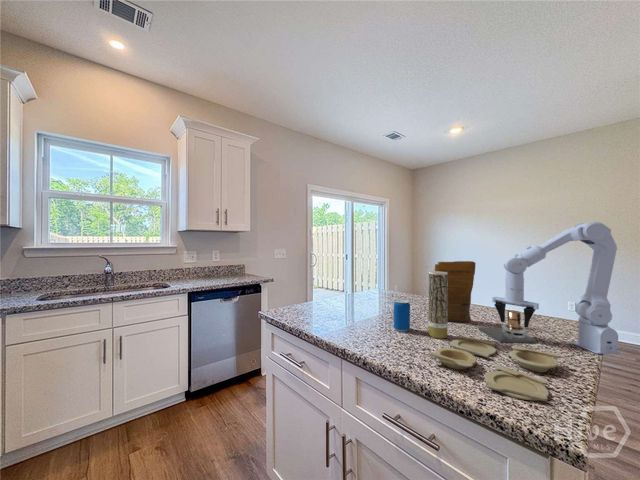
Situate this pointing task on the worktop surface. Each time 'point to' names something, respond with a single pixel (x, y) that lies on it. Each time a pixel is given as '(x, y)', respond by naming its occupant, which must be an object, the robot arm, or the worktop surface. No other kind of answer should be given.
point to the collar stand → (507, 334)
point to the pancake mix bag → (458, 288)
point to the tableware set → (506, 378)
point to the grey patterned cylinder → (438, 304)
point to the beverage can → (401, 315)
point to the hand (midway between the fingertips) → (514, 324)
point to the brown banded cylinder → (514, 321)
